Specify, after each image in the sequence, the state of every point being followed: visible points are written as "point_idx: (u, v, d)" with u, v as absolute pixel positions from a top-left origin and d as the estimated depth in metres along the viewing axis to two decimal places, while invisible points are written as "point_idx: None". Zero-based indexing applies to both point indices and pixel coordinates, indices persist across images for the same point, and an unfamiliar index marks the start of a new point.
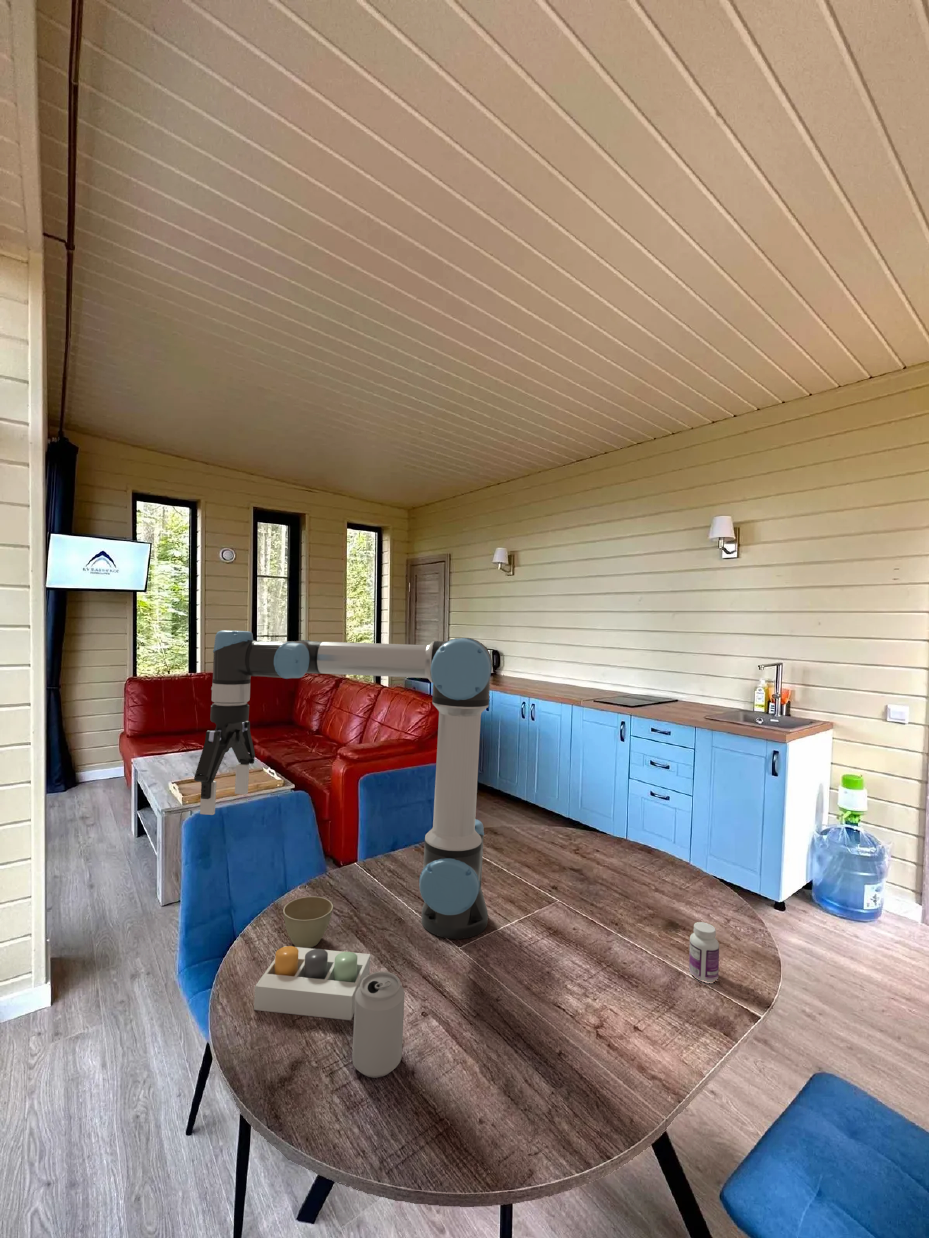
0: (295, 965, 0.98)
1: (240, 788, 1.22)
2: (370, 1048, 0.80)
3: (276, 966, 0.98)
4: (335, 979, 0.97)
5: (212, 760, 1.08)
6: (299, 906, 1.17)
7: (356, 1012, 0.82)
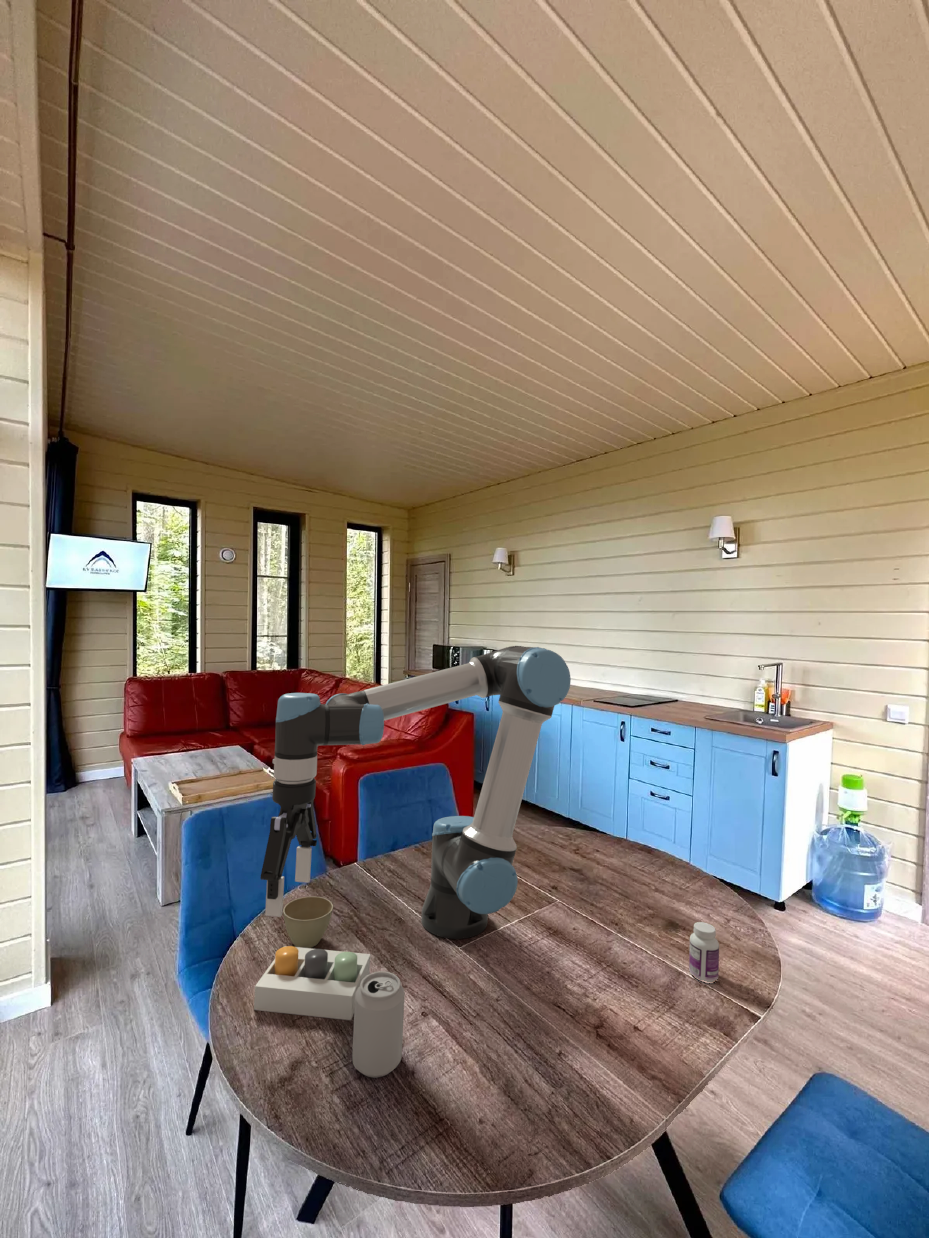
0: (295, 965, 0.98)
1: (301, 875, 1.05)
2: (370, 1048, 0.80)
3: (276, 966, 0.98)
4: (335, 979, 0.97)
5: (280, 853, 0.92)
6: (299, 906, 1.17)
7: (356, 1012, 0.82)
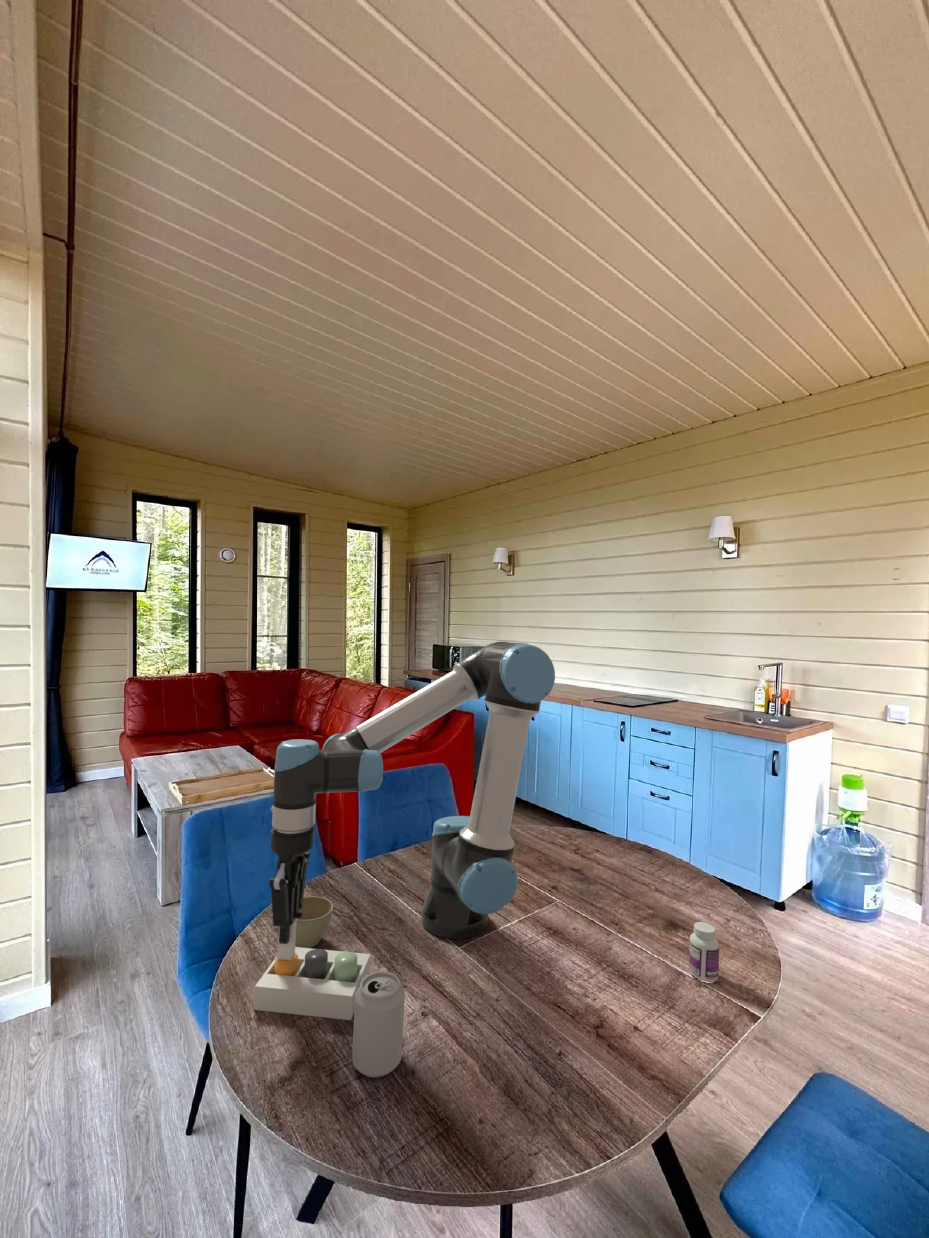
0: (295, 971, 0.98)
1: None
2: (370, 1048, 0.80)
3: (276, 972, 0.98)
4: (335, 979, 0.97)
5: (287, 905, 0.95)
6: None
7: (356, 1012, 0.82)
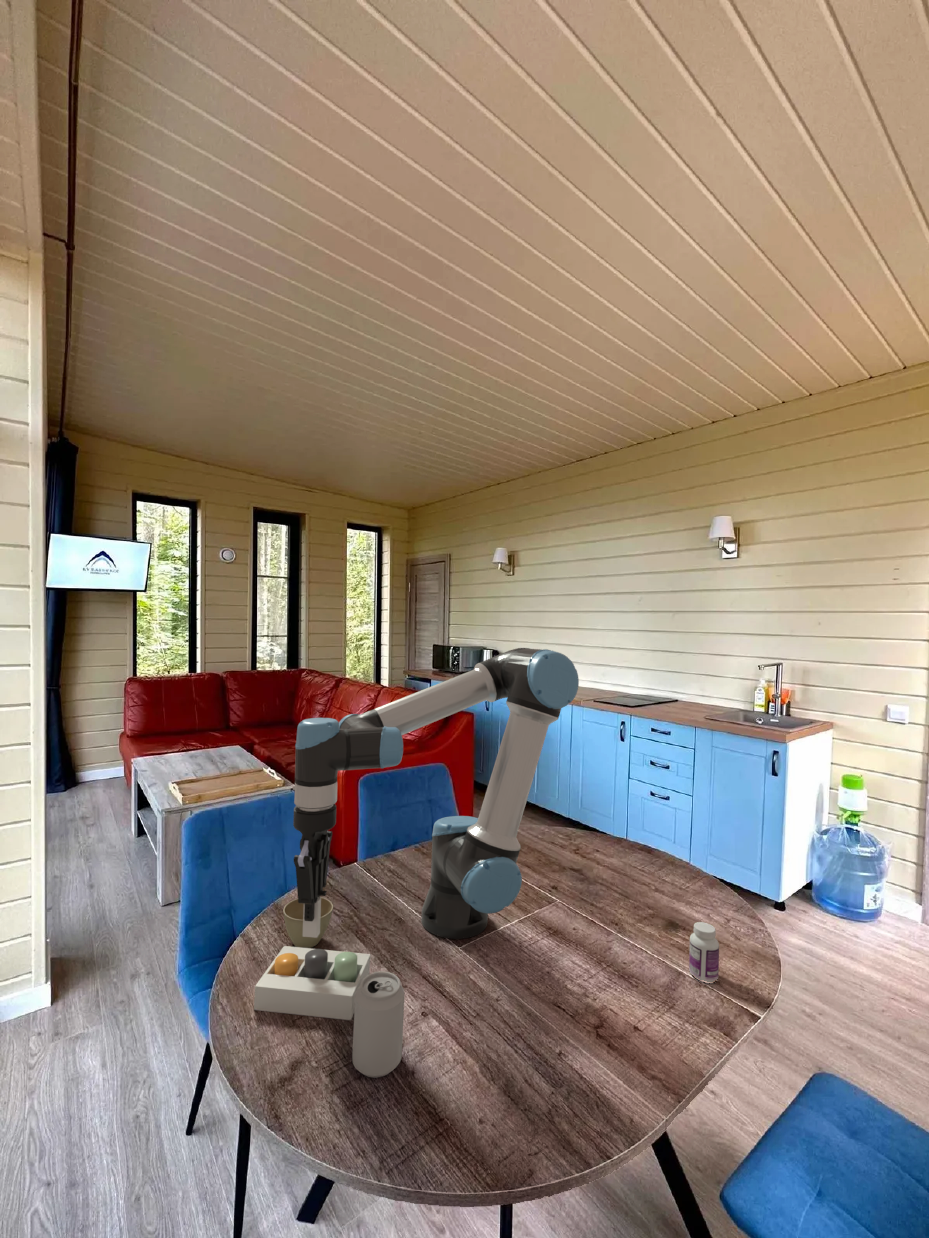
0: (294, 972, 0.98)
1: None
2: (370, 1048, 0.80)
3: (276, 973, 0.98)
4: (335, 979, 0.97)
5: (311, 882, 0.95)
6: (299, 906, 1.17)
7: (356, 1012, 0.82)
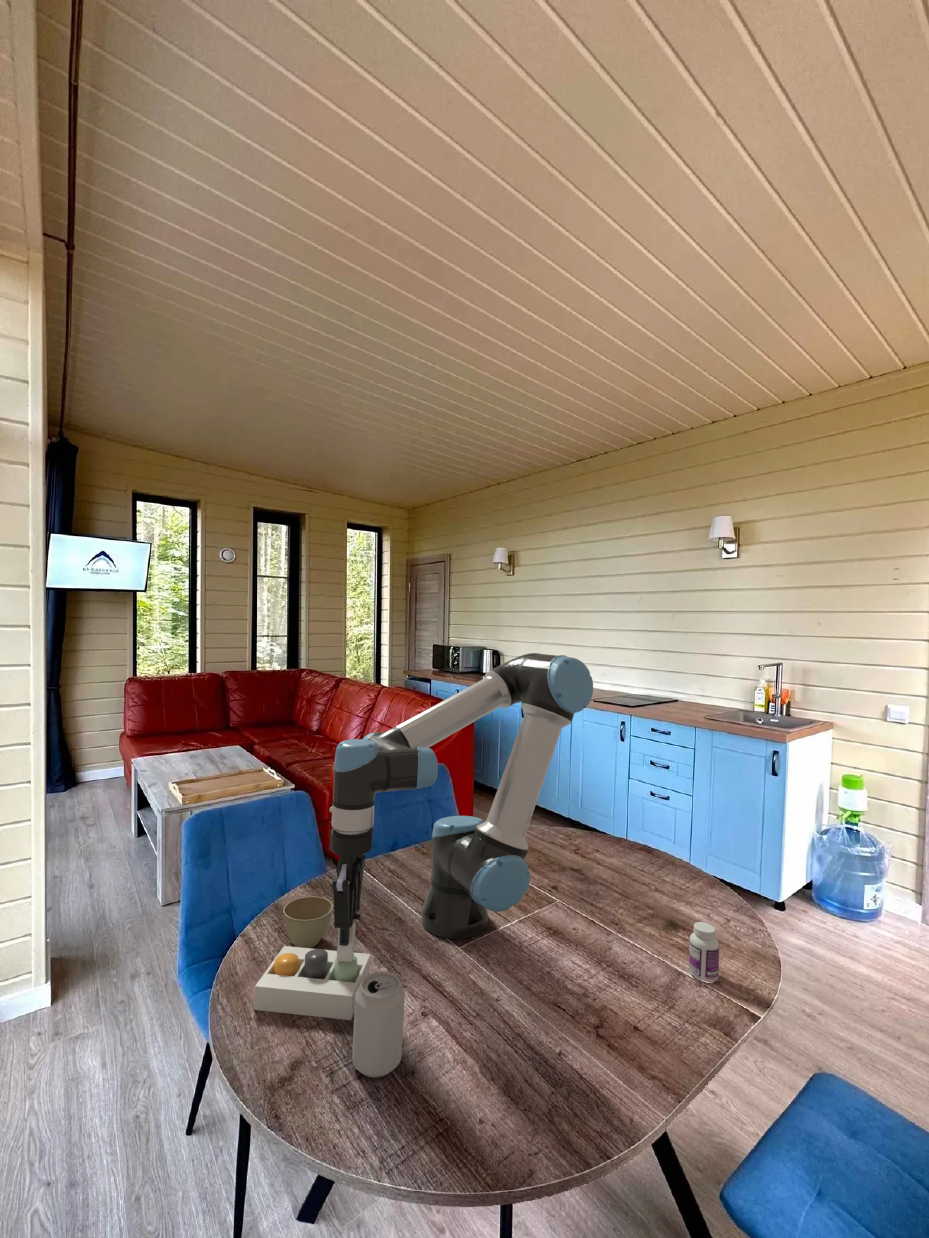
0: (294, 972, 0.98)
1: None
2: (370, 1048, 0.80)
3: (276, 973, 0.98)
4: None
5: (348, 907, 0.94)
6: (299, 906, 1.17)
7: (356, 1012, 0.82)
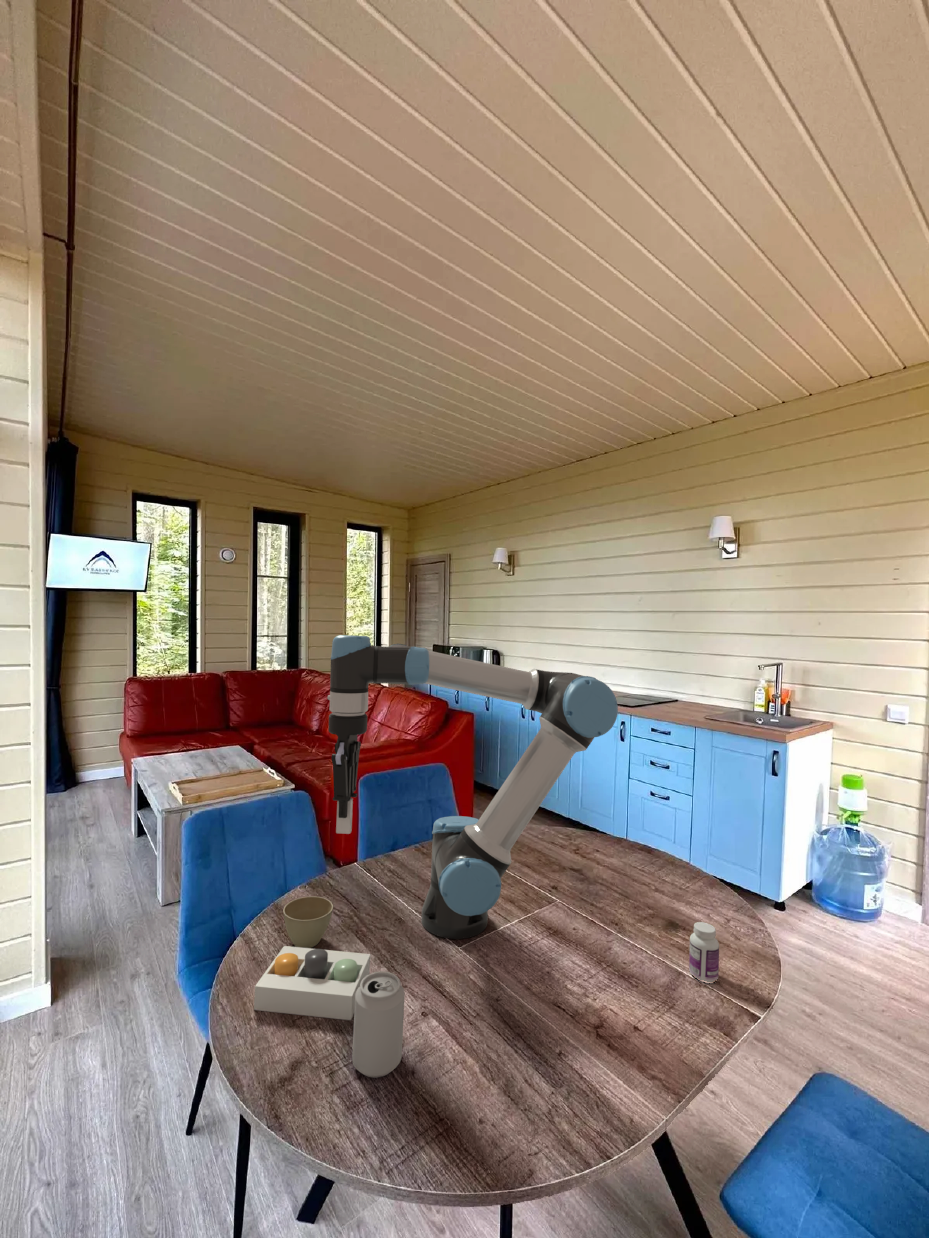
0: (294, 972, 0.98)
1: None
2: (370, 1048, 0.80)
3: (276, 973, 0.98)
4: None
5: (346, 780, 1.04)
6: (299, 906, 1.17)
7: (356, 1012, 0.82)
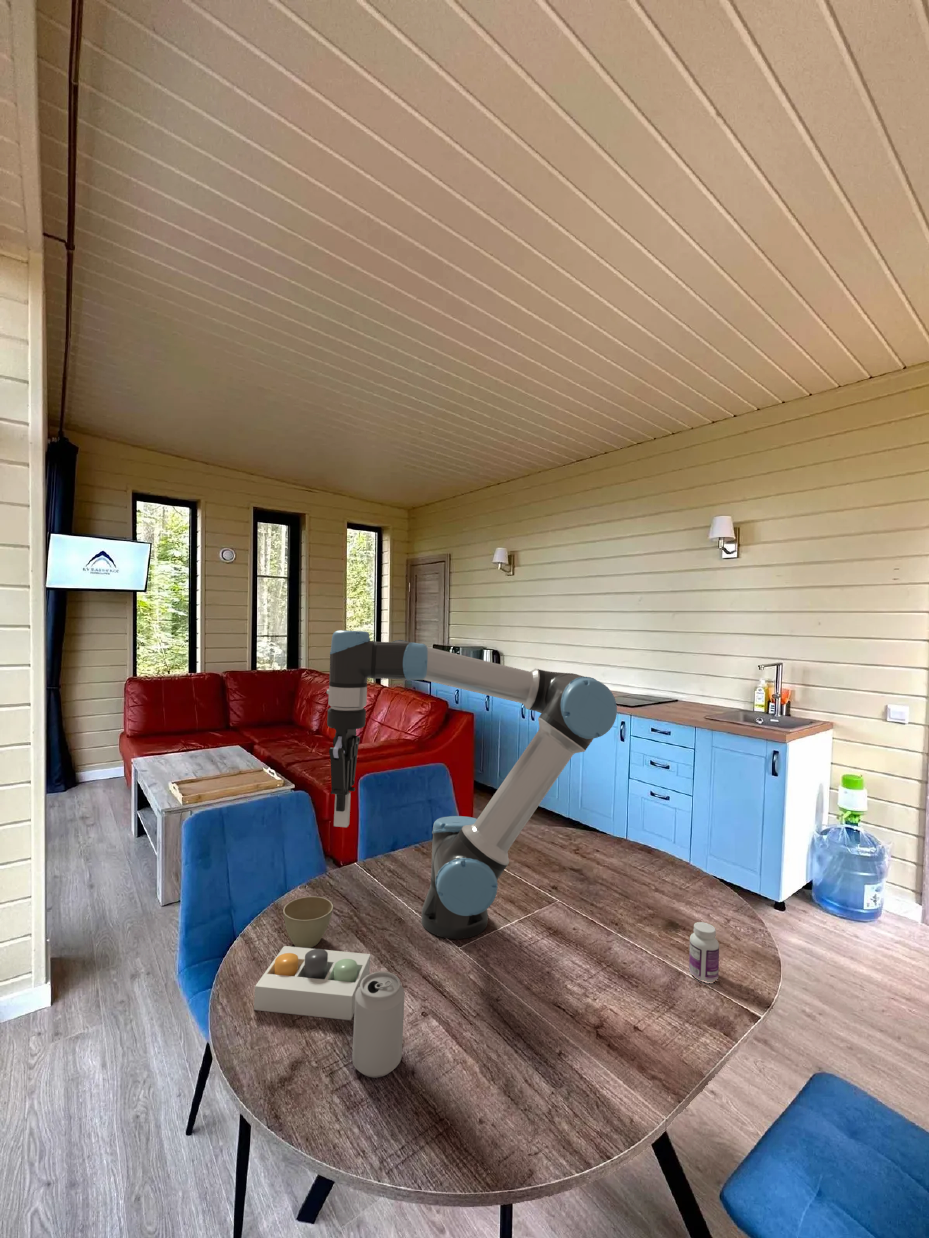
0: (294, 972, 0.98)
1: None
2: (370, 1048, 0.80)
3: (276, 973, 0.98)
4: None
5: (344, 774, 1.05)
6: (299, 906, 1.17)
7: (356, 1012, 0.82)
